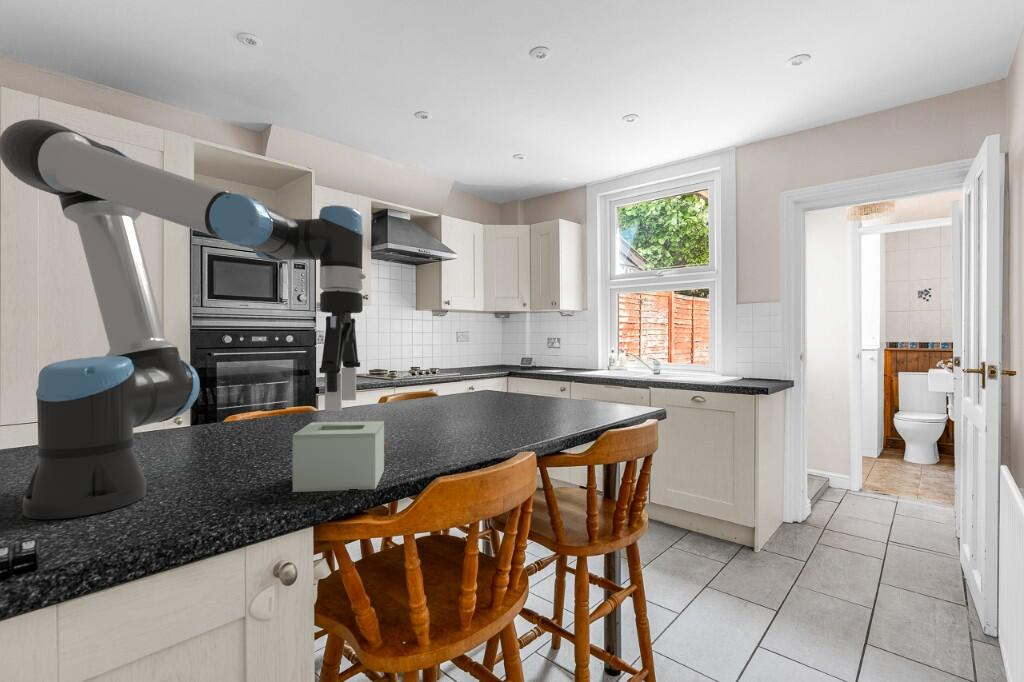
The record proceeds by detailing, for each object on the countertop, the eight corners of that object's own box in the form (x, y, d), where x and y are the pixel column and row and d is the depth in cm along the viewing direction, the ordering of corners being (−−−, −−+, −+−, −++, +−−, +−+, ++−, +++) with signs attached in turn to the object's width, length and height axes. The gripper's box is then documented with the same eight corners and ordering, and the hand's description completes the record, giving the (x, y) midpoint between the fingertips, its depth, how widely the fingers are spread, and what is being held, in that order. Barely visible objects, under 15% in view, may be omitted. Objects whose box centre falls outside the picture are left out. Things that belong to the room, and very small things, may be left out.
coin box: (292, 492, 86) (292, 434, 86) (311, 472, 98) (311, 422, 98) (375, 489, 88) (375, 433, 88) (384, 470, 100) (384, 421, 99)
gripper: (349, 285, 80) (349, 415, 81) (372, 296, 105) (372, 396, 105) (300, 284, 79) (301, 416, 80) (335, 296, 104) (336, 396, 104)
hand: (341, 405), depth 93 cm, fingers open, 13 cm apart
